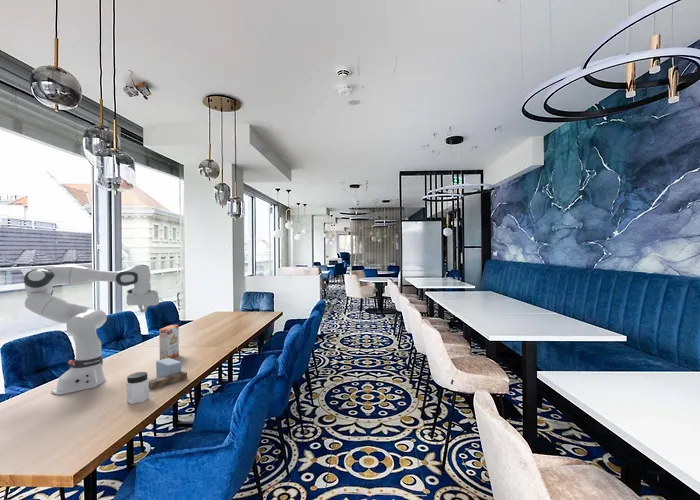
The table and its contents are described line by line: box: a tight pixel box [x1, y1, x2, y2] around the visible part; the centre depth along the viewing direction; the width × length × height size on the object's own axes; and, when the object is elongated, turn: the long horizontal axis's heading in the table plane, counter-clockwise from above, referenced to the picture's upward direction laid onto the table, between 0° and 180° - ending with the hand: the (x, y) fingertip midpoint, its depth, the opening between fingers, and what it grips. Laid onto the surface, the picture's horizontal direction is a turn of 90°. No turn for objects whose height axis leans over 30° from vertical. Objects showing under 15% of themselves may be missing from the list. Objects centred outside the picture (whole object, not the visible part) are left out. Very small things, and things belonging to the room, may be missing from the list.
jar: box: [125, 371, 150, 405], centre depth 163 cm, size 9×8×12 cm
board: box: [149, 370, 188, 391], centre depth 183 cm, size 18×4×4 cm, turn 140°
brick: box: [155, 358, 182, 379], centre depth 192 cm, size 7×14×9 cm, turn 54°
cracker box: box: [158, 324, 180, 360], centre depth 228 cm, size 14×6×21 cm, turn 179°
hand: (143, 312), depth 214 cm, fingers closed
